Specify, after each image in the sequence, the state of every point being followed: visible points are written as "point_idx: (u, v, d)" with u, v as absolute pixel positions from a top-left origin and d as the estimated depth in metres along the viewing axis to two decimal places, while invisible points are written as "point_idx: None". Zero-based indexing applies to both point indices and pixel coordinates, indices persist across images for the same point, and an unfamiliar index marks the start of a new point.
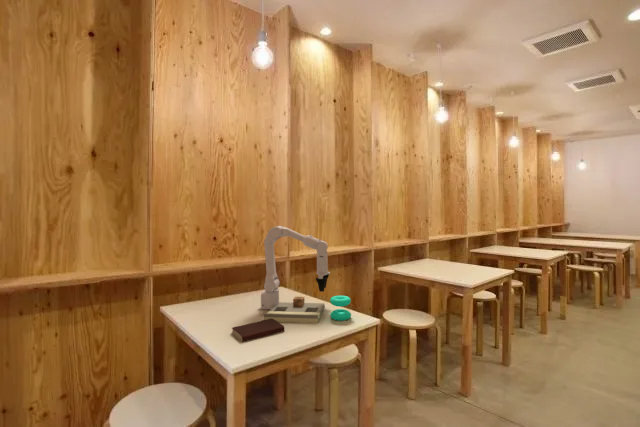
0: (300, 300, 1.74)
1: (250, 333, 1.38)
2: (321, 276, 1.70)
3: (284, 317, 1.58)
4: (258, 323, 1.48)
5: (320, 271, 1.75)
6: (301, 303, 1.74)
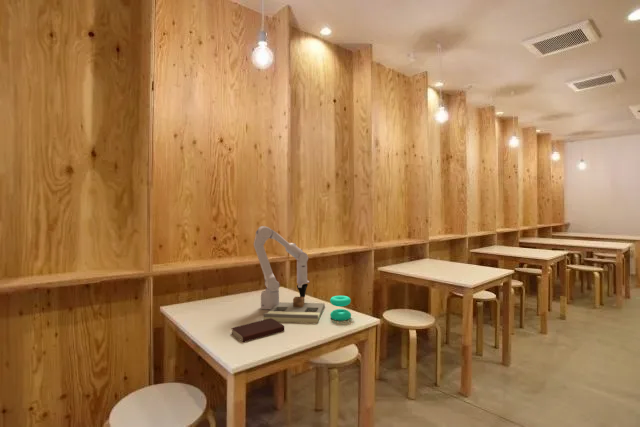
0: (300, 300, 1.74)
1: (250, 333, 1.38)
2: (300, 285, 1.80)
3: (284, 317, 1.58)
4: (258, 323, 1.49)
5: (300, 280, 1.84)
6: (301, 303, 1.74)
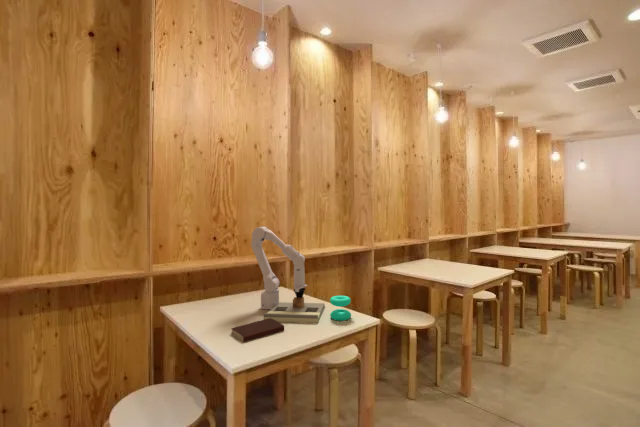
0: (300, 301, 1.73)
1: (251, 333, 1.38)
2: (297, 289, 1.72)
3: (284, 317, 1.58)
4: (257, 323, 1.49)
5: (297, 284, 1.77)
6: (301, 304, 1.73)
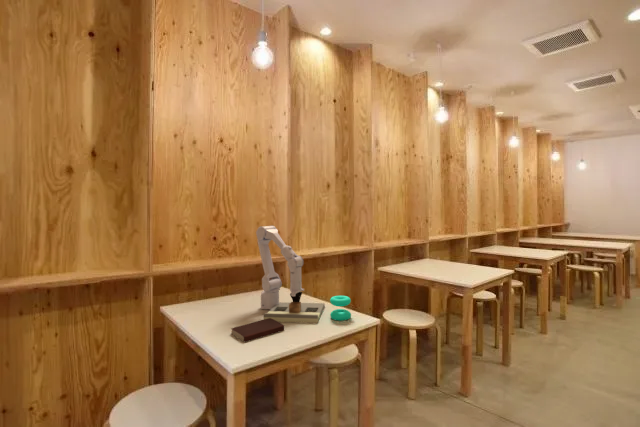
0: (296, 306, 1.64)
1: (251, 333, 1.38)
2: (294, 294, 1.64)
3: (284, 317, 1.58)
4: (257, 323, 1.49)
5: (293, 288, 1.68)
6: (297, 309, 1.64)
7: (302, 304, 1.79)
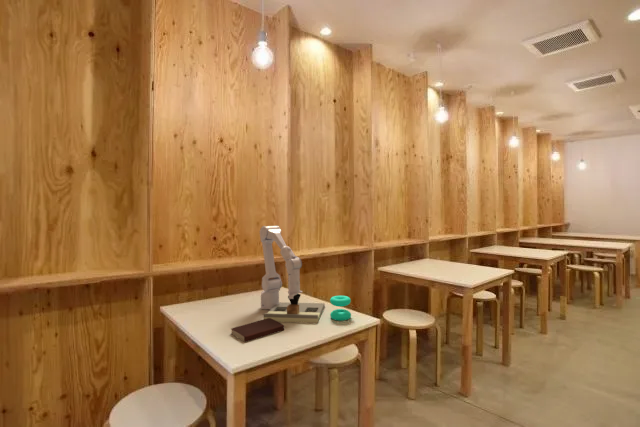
0: (294, 308, 1.60)
1: (252, 333, 1.38)
2: (292, 296, 1.59)
3: (284, 317, 1.58)
4: (257, 323, 1.49)
5: (291, 290, 1.64)
6: (295, 312, 1.60)
7: (302, 304, 1.79)
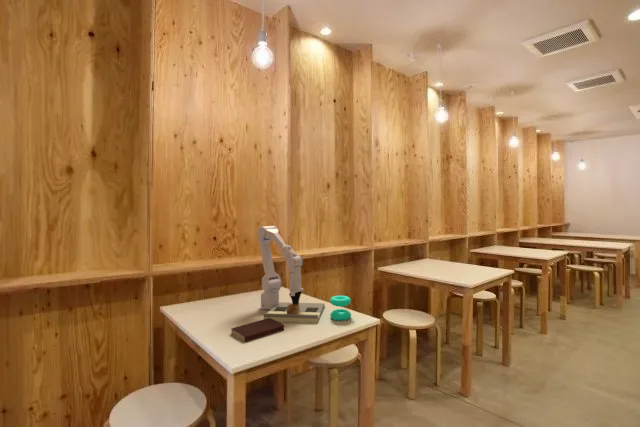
0: (294, 308, 1.60)
1: (252, 333, 1.38)
2: (293, 293, 1.62)
3: (284, 317, 1.58)
4: (257, 323, 1.49)
5: (293, 287, 1.67)
6: (295, 312, 1.60)
7: (302, 304, 1.79)
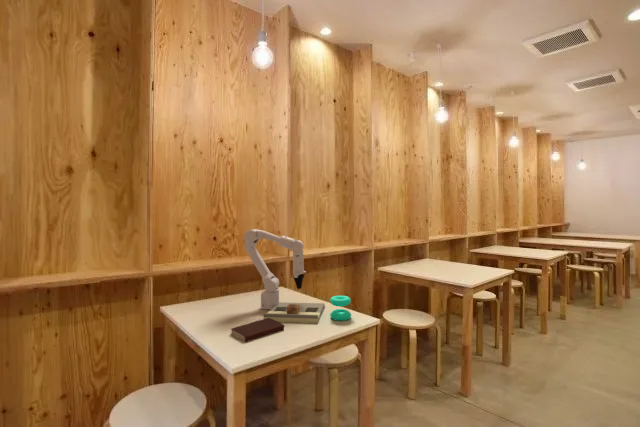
0: (294, 308, 1.60)
1: (252, 333, 1.38)
2: (296, 275, 1.72)
3: (284, 317, 1.58)
4: (257, 323, 1.49)
5: (296, 270, 1.77)
6: (295, 312, 1.60)
7: (302, 304, 1.79)
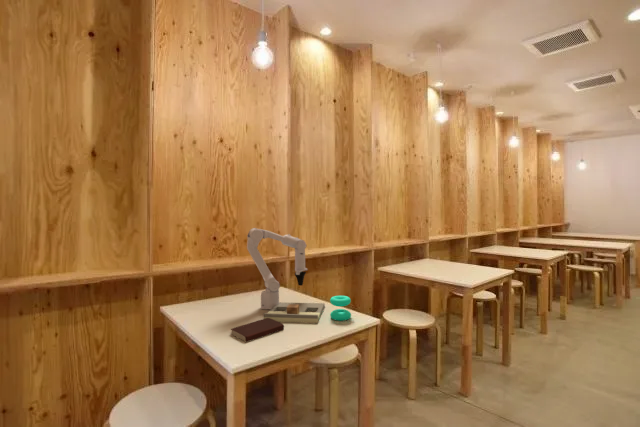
0: (294, 308, 1.60)
1: (252, 333, 1.38)
2: (298, 272, 1.80)
3: (284, 317, 1.58)
4: (256, 323, 1.49)
5: (298, 267, 1.84)
6: (295, 312, 1.60)
7: (302, 304, 1.79)
